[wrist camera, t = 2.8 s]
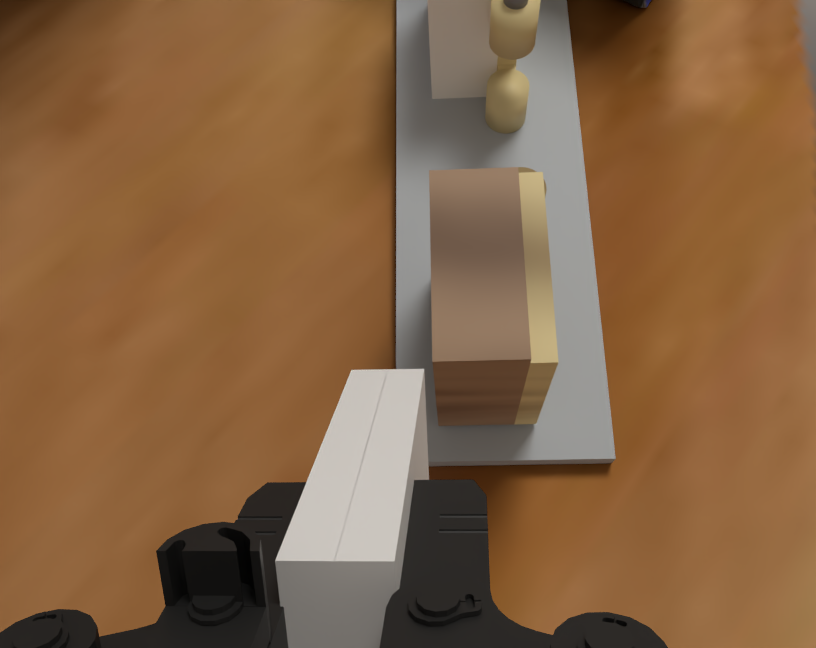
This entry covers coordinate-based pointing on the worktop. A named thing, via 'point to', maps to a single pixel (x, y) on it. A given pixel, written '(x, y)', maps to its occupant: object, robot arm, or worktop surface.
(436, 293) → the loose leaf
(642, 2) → the ink box
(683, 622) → the worktop surface
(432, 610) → the robot arm
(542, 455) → the hinge jig
